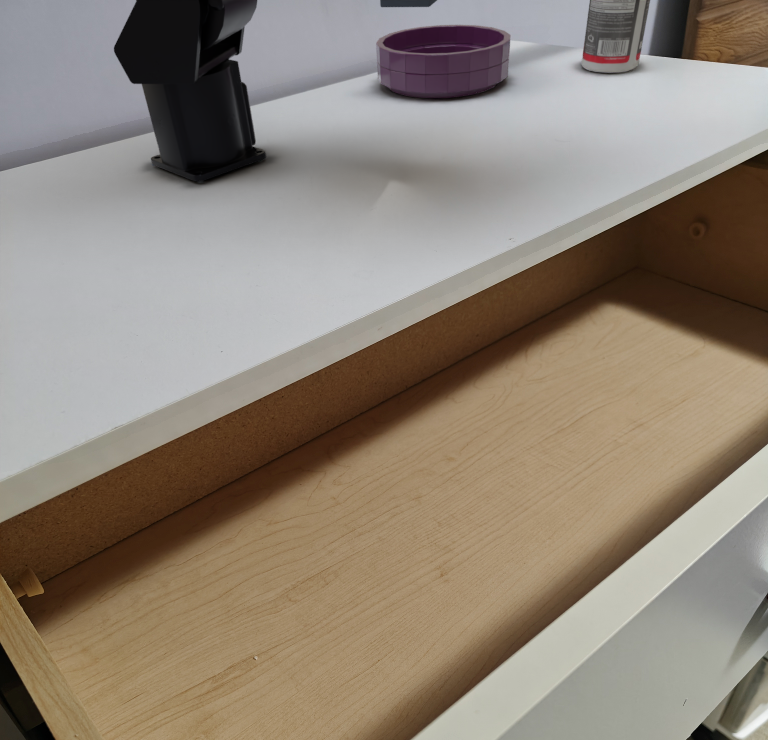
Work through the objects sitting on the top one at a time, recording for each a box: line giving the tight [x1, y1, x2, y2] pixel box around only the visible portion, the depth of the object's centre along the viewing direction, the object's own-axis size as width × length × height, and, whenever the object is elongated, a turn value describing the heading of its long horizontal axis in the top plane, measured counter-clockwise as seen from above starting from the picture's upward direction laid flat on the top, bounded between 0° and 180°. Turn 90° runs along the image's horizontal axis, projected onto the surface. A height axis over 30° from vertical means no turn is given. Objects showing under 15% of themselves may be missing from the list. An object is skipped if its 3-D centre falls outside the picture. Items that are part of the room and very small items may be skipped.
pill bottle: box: [581, 0, 651, 74], centre depth 62 cm, size 5×5×10 cm
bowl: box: [375, 24, 511, 99], centre depth 63 cm, size 12×12×4 cm
